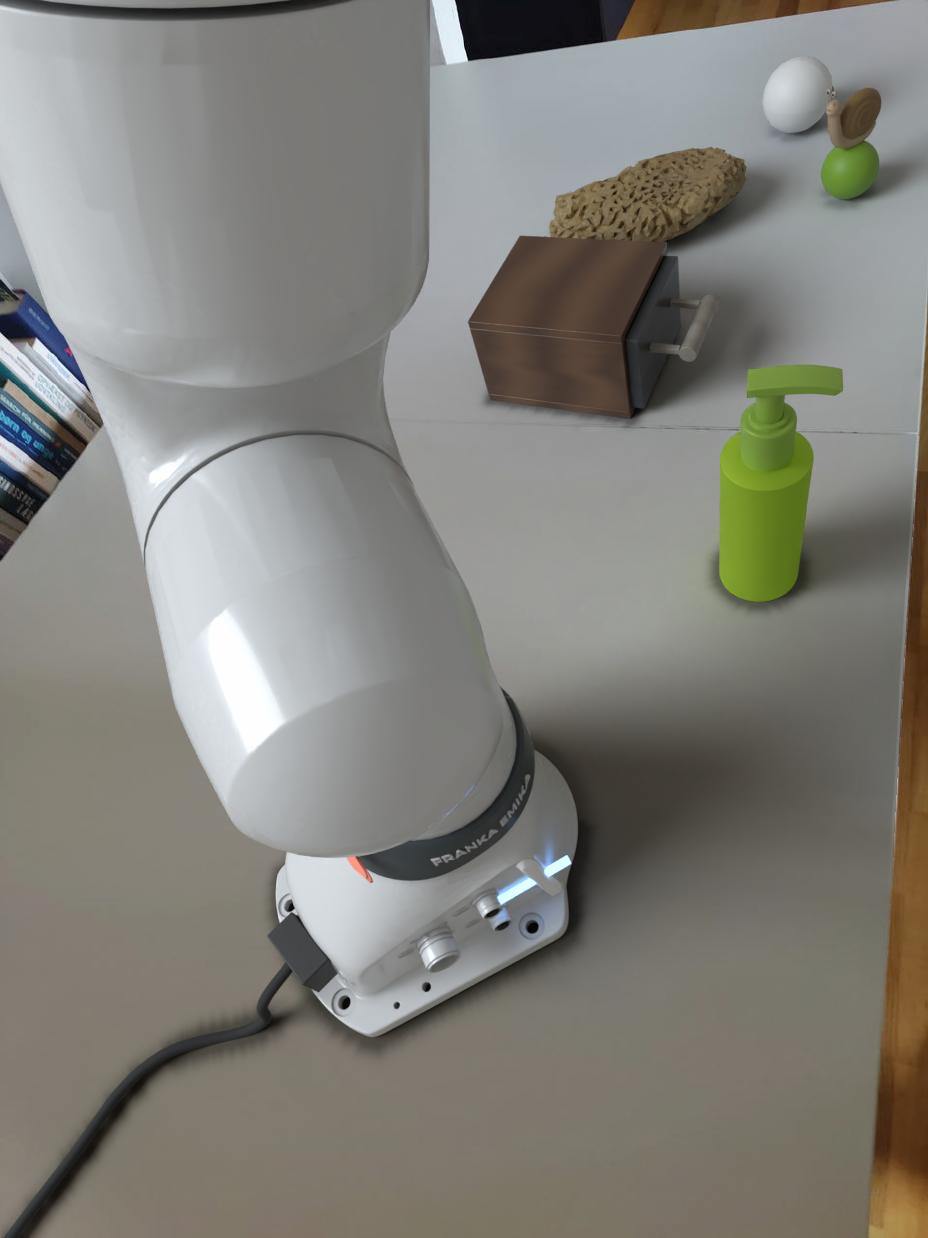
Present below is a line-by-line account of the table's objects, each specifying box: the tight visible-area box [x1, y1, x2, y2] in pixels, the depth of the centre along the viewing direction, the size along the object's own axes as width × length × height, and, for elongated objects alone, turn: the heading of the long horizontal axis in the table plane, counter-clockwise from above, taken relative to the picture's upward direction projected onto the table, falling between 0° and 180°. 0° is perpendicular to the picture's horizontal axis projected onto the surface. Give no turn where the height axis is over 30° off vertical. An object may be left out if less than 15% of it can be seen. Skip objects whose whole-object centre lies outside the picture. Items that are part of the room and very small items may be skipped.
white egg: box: [762, 55, 835, 134], centre depth 95 cm, size 10×7×7 cm
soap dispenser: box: [718, 364, 844, 603], centre depth 59 cm, size 6×7×20 cm
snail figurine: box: [820, 87, 882, 200], centre depth 84 cm, size 5×6×12 cm
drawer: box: [625, 255, 720, 409], centre depth 79 cm, size 18×11×8 cm, turn 65°
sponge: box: [548, 146, 747, 242], centre depth 91 cm, size 13×8×20 cm
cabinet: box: [467, 235, 668, 420], centre depth 81 cm, size 15×13×10 cm
